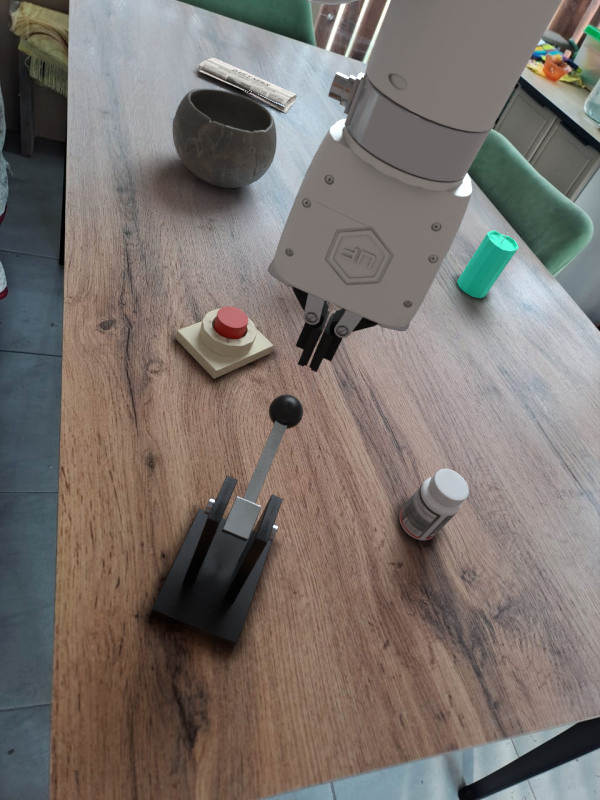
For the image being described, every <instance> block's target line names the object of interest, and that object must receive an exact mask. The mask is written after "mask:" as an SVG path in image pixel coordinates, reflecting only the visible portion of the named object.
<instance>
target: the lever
mask: <svg viewBox="0 0 600 800" xmlns="http://www.w3.org/2000/svg"><path fill="white" fill-rule="evenodd" d="M268 415H269V419H270V421H271V422H272V423H273V425H272V428H271V430H270V433H269V435H268V437H267V440H266V442H265V444H264V446H263V449H262V452H261V454H260V457H259V459H258V461H257V463H256V466H255V468H254V470H253V473H252V475H251V478H250V479H249V482H248V485H247V487H246V489H245V491H244V494H243V497H240V496H237V495H236V496H235V498H234V501H233V503H232V505H231V508H230V510H229V513H228V515H227V517H226V518H225V519H226V522H225V524H224V526H223V529H222V532H224V533H226V534H228V535H231V536H233V537H236V538H238V539H240V540H243V541H247V540H248V539H249V537H250V534H251V532H252V530H254V528H255V525H256V523H257V521H258V520H257V519H258V517H259V515H260V512H261V510H262V505H259V504H256V503H257V500H258V498H259V495H260V494H261V491H262V488H263V486H264V484H265V482H266V478H267V476H268V474H269V472H270V469H271V466H272V464H273V462H274V460H275V457H276V454H277V452H278V450H279V447H280V444H281V442H282V440H283V438H284V435H285V432H286V430H289V429H293V428H295V427H296V426H298V424H300V422H301V421H302V419H303V416H304V407H303V405H302V402H301V401H300V400H299V399H298V398H297V397H296V396H294V395H291V394H280V395H278V396H276V397H275V398H274V399H273V400H272V401H271V403H270V405H269V408H268Z"/></svg>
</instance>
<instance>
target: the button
mask: <svg viewBox="0 0 600 800" xmlns="http://www.w3.org/2000/svg"><path fill="white" fill-rule="evenodd" d="M220 308H221V309H219V310H218V312H217V316H216V320H215V323H214V329H215V331H216V332H217V333H218V334H219V335H220V336H222V337H225V338H227V339H239V338H241V337H242V336H243V335H244V333H245V330H246V327H247V324H248V318H249V316H248V315H247V313H245V311H244V310H242V309H240V308H238V307H235V306H229V305H228V306H227V305H226V306H223V307H220Z"/></svg>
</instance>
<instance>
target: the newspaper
mask: <svg viewBox="0 0 600 800" xmlns="http://www.w3.org/2000/svg"><path fill="white" fill-rule="evenodd" d="M198 69H199V70H198V72H200V73H202V74H205V75H207V76H209V77H211V78H214V79H216V80H219V81H221V82H223V83H225V84H228V85H230V86H233V87H234V88H237V89H240V90H242V91H244V90H245V91H244V92H246V91H248V92H250V93H248V92H247V93H248V94H250V95H251V96H253V97H255V98H256V99H259V100H261V101H262V102H264V103H266V104H267V105H270V106H271V107H273V108H275V109H277V110H279V111H281V112H283V113H284V114H287V113H288V111H289V110H290V108H291V107H292V106H293V105H294V103H295V102H296V99H297V97H298V94H297V93H294V92H292V91H290V90H288V89H285V88H283V87H281V86H279V85H276V84H274V83H272V82H270V81H267V80H265V79H263V78H261V77H259V76H257V75H254V74H252V73H250V72H247V71H246V70H243V69H242V68H240V67H236V66H234V65H232V64H229V63H228V62H225V61H223V60H221V59H218V58H216V57H211V58H207V59H205V60H203V61H201V62H200V63H199V64H198ZM241 88H242V89H241ZM249 90H250V91H249ZM251 91H252V92H251ZM258 94H259V95H258ZM296 94H297V95H296ZM260 95H262V96H264V97H266V98H268V99H270V100H272V101H274V102H277V103H280V104H282V105H284V106H285V107H283V106H281V105H279V104H276V103H274V102H272V101H270V100H268V99H266V98H264V97H262V96H260Z"/></svg>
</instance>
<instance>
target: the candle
mask: <svg viewBox="0 0 600 800" xmlns="http://www.w3.org/2000/svg"><path fill="white" fill-rule="evenodd" d="M508 234H509V232H507V233H506V234H503V233H500V232H499V231H497V230H495V229H492V230H490V231H488V232H487V233H486V235H485V236H484V237H483V239H482V241H480V242H481V243H480V244H479V245H478V247H477V249H476V250H475V251H474V253H473V255H472V256H471V258H470V260H469V261H468V263H467V265H466V266H465V267H464V269H463V270H462V272H461V274H460V276H459V277H458V279H457V282H456V283H457V285H458V288H459V289H460V290H461V291H462V292H464V293H465V294H467V295H469V296H470V297H473V298H477V299H482V298H485V297H486V296H487V295H488V293H489V292H490V290H491V289H492V288H493V286H494V285H495V283H496V281H497V280H498V279H499V277H500V276H501V275H502V273H503V271H504V270H505V268H506V267H507V266H508V264H509V263H510V261H511V260H512V259H513V257H514V255H515V254H516V253H517V251H518V250H519V245H518V243H517V241H516V240H515V239H514V238H512V237H511V236H509V235H508Z"/></svg>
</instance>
